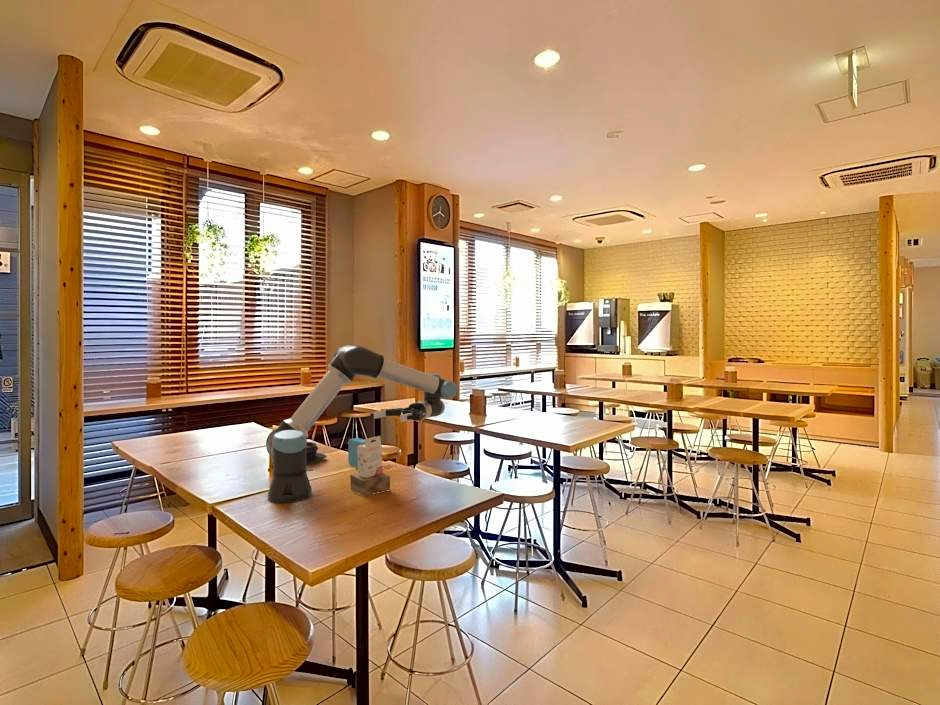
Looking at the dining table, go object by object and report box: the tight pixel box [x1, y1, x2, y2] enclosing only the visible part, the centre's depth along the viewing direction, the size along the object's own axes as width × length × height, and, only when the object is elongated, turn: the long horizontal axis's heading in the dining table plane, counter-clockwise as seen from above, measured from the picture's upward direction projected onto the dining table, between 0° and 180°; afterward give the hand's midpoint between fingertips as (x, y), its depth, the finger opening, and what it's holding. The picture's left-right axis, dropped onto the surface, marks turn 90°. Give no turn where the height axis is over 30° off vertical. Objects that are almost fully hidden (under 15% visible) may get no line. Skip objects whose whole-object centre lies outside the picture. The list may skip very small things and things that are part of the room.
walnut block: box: [349, 472, 391, 497], centre depth 191 cm, size 11×11×6 cm
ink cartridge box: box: [357, 435, 384, 478], centre depth 191 cm, size 9×5×15 cm, turn 144°
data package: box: [347, 437, 365, 469], centre depth 226 cm, size 12×4×12 cm, turn 44°
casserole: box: [306, 441, 327, 465], centre depth 232 cm, size 25×19×8 cm
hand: (387, 416), depth 199 cm, fingers open, 13 cm apart
